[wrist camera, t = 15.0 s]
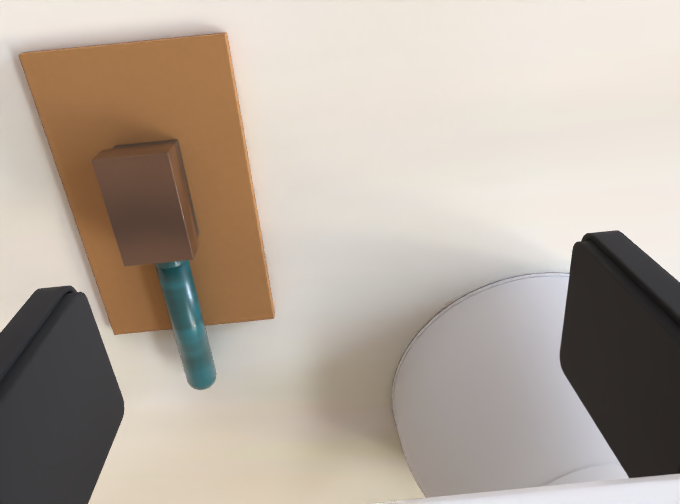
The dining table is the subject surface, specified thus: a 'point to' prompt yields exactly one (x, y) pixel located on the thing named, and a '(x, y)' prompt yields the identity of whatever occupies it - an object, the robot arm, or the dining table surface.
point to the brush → (159, 236)
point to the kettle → (496, 396)
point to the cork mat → (148, 126)
